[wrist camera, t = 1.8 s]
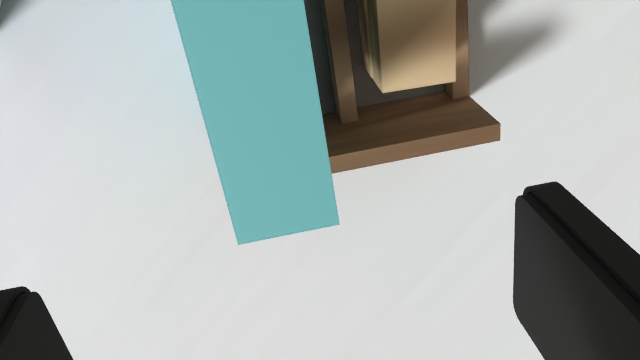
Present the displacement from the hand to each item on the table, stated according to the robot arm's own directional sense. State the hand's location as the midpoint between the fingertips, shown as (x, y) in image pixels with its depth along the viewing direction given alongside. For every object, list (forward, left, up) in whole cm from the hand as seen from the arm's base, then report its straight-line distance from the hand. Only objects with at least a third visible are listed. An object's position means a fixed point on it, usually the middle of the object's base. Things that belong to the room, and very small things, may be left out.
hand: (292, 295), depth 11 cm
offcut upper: (0, +8, -21) cm, 22 cm away
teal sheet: (0, 0, -23) cm, 23 cm away
